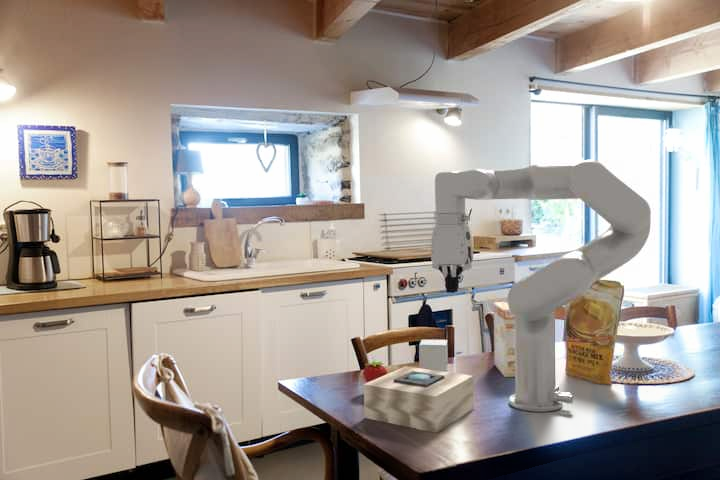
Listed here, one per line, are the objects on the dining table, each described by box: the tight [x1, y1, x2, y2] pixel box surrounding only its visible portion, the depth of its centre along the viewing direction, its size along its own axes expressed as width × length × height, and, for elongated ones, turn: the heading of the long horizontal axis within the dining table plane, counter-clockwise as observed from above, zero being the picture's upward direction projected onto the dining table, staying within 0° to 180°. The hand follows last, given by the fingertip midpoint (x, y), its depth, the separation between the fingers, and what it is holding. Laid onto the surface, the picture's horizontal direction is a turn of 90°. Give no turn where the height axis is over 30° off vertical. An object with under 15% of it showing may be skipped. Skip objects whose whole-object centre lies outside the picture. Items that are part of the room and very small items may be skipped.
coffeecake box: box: [493, 301, 515, 378], centre depth 184 cm, size 15×7×20 cm, turn 179°
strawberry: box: [363, 356, 388, 383], centre depth 165 cm, size 6×8×10 cm
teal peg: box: [409, 374, 430, 382], centre depth 148 cm, size 5×5×7 cm
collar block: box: [363, 365, 475, 433], centre depth 148 cm, size 19×19×9 cm
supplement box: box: [418, 339, 449, 372], centre depth 168 cm, size 7×7×13 cm
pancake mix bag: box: [564, 279, 625, 386], centre depth 173 cm, size 7×19×28 cm, turn 27°
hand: (452, 291), depth 159 cm, fingers closed
